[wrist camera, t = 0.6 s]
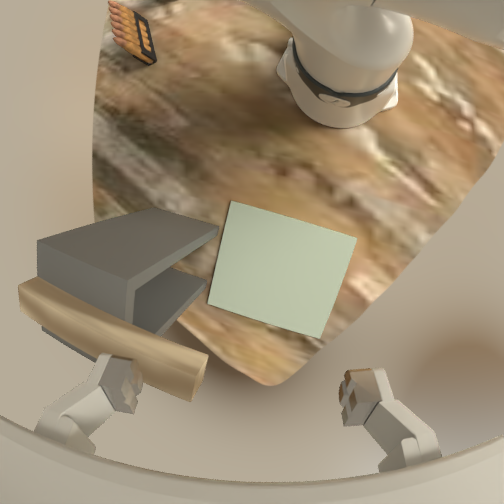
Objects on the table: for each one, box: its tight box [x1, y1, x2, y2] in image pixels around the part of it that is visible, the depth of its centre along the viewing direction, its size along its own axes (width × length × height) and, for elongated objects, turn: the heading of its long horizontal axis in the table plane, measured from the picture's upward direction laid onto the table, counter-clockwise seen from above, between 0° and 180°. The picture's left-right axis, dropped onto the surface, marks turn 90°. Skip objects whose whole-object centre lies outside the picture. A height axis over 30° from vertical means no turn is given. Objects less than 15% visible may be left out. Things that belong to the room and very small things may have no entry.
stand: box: [37, 208, 219, 363], centre depth 38 cm, size 11×12×26 cm
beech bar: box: [18, 276, 208, 402], centre depth 24 cm, size 3×20×3 cm, turn 75°
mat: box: [207, 201, 357, 339], centre depth 48 cm, size 18×20×1 cm
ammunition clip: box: [108, 1, 157, 66], centre depth 36 cm, size 11×2×12 cm, turn 16°
